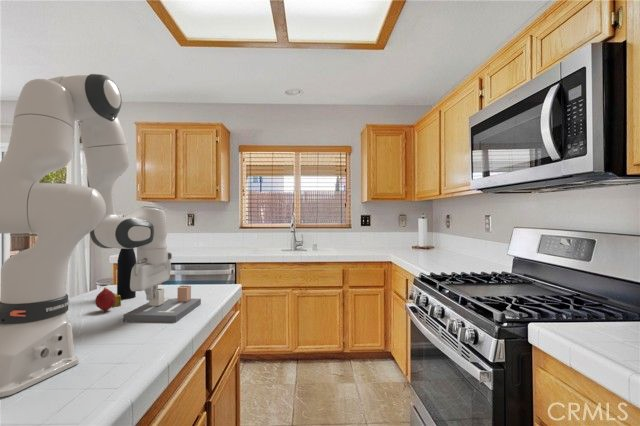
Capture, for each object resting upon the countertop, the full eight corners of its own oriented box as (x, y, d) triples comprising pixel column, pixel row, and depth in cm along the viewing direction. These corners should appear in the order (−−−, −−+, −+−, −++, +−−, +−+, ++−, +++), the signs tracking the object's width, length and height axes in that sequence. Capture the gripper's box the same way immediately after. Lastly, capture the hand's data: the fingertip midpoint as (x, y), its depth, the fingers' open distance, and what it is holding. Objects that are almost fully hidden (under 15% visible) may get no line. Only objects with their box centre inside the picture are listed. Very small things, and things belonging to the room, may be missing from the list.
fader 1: (158, 305, 118) (158, 290, 118) (148, 305, 118) (149, 290, 118) (164, 302, 122) (164, 288, 122) (154, 302, 122) (154, 287, 122)
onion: (119, 309, 122) (119, 285, 122) (107, 314, 116) (108, 289, 116) (103, 308, 122) (103, 285, 122) (90, 313, 116) (91, 288, 116)
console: (176, 322, 108) (176, 315, 108) (123, 321, 108) (123, 314, 108) (200, 304, 130) (200, 298, 130) (156, 303, 130) (156, 297, 130)
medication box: (100, 302, 132) (99, 291, 132) (108, 300, 134) (108, 290, 134) (113, 308, 124) (113, 296, 124) (121, 306, 126) (121, 295, 126)
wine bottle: (119, 296, 141) (120, 219, 141) (137, 295, 143) (138, 220, 143) (115, 299, 135) (116, 220, 135) (133, 298, 137) (135, 220, 137)
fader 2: (186, 301, 124) (186, 287, 124) (177, 301, 124) (177, 287, 124) (190, 298, 128) (191, 284, 128) (181, 298, 128) (182, 284, 128)
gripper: (145, 261, 106) (145, 307, 106) (174, 253, 126) (173, 292, 126) (124, 260, 106) (123, 307, 106) (156, 253, 126) (155, 292, 126)
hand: (151, 299), depth 116 cm, fingers closed
